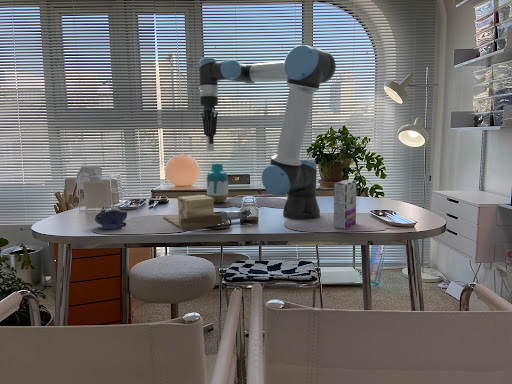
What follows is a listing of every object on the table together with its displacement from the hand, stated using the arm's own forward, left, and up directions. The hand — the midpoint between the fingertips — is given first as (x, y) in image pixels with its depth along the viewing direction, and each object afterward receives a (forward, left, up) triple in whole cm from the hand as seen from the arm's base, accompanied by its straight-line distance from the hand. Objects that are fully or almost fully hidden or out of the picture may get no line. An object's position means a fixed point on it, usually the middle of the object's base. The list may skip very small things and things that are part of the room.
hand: (210, 151), depth 175 cm
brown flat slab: (-8, +24, -26) cm, 36 cm away
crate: (-13, +27, -26) cm, 39 cm away
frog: (+12, +44, -27) cm, 53 cm away
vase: (+10, -18, -26) cm, 33 cm away
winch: (-24, +15, -26) cm, 38 cm away
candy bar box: (-61, 0, -26) cm, 67 cm away
